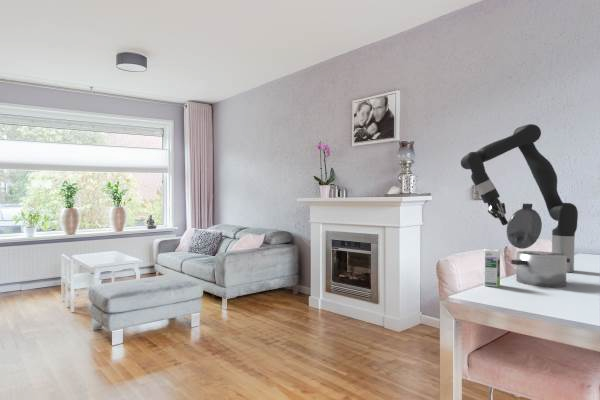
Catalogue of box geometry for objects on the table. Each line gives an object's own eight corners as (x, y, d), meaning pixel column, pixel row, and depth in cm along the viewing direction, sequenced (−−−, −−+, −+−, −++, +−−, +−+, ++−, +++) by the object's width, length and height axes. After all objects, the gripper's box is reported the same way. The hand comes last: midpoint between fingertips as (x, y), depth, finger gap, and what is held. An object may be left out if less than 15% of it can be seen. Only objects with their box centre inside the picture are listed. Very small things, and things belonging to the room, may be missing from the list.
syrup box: (483, 286, 161) (484, 249, 161) (483, 283, 167) (483, 248, 167) (499, 287, 159) (500, 250, 159) (498, 284, 165) (499, 249, 164)
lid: (506, 249, 176) (504, 248, 177) (538, 248, 181) (536, 247, 182) (512, 203, 173) (510, 203, 174) (545, 204, 178) (542, 203, 179)
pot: (497, 279, 174) (497, 251, 174) (547, 276, 182) (548, 250, 182) (532, 289, 157) (532, 258, 157) (586, 285, 165) (586, 256, 165)
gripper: (487, 191, 198) (504, 223, 195) (473, 197, 190) (492, 231, 187) (500, 185, 192) (519, 218, 189) (487, 191, 184) (506, 225, 181)
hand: (505, 224), depth 188 cm, fingers closed
